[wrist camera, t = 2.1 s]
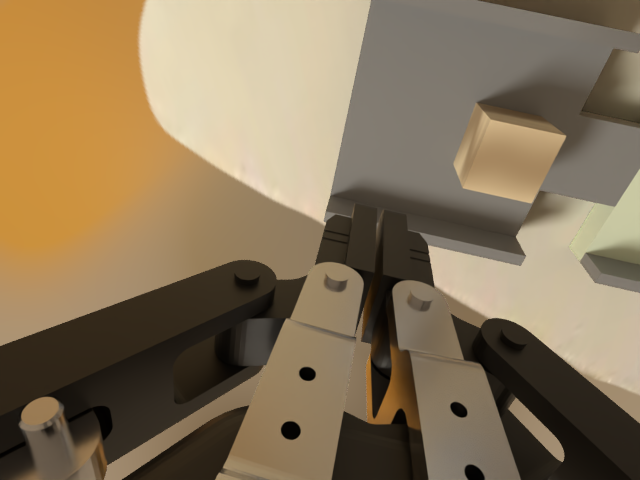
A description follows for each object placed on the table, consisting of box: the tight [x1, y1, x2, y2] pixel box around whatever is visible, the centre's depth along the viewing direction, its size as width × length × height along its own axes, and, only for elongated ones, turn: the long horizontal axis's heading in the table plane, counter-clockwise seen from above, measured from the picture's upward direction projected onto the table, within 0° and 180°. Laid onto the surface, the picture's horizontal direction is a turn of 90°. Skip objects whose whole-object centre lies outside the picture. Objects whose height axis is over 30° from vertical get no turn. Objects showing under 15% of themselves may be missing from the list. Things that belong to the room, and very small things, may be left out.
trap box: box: [324, 0, 640, 293], centre depth 25 cm, size 14×26×4 cm, turn 80°
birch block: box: [453, 103, 566, 203], centre depth 24 cm, size 4×4×4 cm
